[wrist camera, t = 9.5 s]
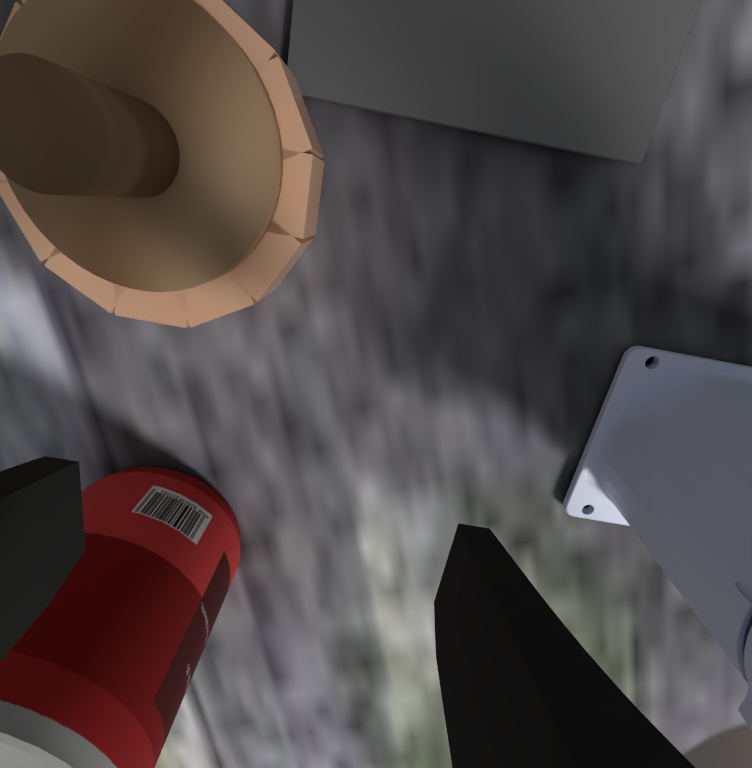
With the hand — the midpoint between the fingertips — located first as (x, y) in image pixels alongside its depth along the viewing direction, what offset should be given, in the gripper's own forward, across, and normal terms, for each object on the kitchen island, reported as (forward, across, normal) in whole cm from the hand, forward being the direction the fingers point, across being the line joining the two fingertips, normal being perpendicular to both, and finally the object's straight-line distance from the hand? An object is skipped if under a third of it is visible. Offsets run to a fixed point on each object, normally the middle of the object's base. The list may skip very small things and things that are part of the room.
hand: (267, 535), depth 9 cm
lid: (+7, +6, -6) cm, 11 cm away
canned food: (+11, +7, +10) cm, 16 cm away
